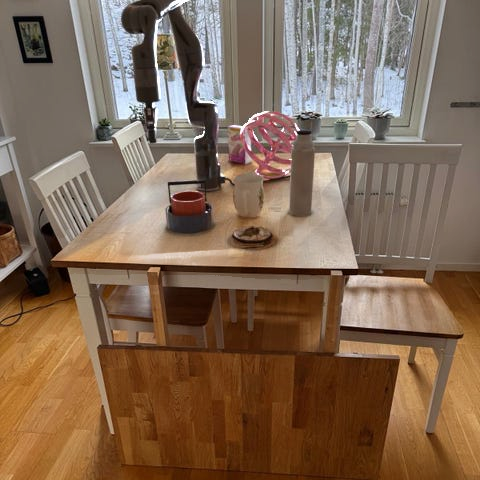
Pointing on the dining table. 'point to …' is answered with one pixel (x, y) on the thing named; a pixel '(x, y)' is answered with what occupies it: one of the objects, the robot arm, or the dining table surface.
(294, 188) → the thermos bottle
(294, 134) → the spiral basket
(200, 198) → the red bucket
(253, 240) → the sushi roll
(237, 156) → the candy bar box
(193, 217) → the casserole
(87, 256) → the dining table surface
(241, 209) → the pitcher
